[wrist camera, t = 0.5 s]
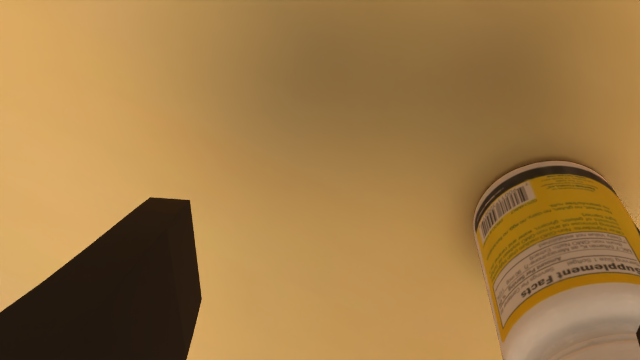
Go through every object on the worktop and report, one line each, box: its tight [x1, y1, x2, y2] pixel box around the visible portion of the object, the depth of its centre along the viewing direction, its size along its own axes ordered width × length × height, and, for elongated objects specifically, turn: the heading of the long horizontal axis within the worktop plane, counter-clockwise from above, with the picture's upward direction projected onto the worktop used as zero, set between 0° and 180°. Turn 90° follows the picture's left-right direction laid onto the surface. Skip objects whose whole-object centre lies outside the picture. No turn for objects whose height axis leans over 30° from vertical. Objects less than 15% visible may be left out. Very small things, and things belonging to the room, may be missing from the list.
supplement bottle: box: [473, 161, 640, 360], centre depth 16 cm, size 5×5×8 cm
